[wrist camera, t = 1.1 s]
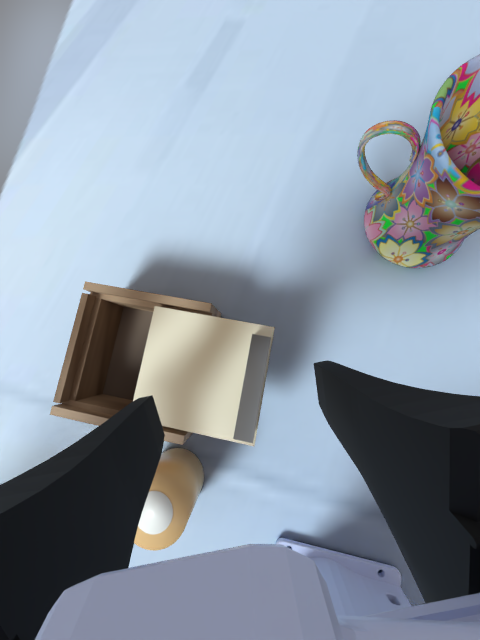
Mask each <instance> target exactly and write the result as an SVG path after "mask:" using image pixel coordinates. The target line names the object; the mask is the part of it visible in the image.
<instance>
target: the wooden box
mask: <svg viewBox="0 0 480 640" xmlns="http://www.w3.org/2000/svg"><path fill="white" fill-rule="evenodd" d="M83 289H84V290H87V291H89V292H91V293H90V294H85V293H82V295H81V299H80V303H79V307H78V311H77V314H76V318H75V322H74V326H73V329H72V333H71V337H70V341H69V345H68V348H67V352H66V356H65V360H64V363H63V367H62V371H61V375H60V379H59V382H58V386H57V390H56V394H55V397H54V401H53V402H56V403H62V404H58V405H54V406H52V409H51V413H50V415H55V416H59V417H63V418H68V419H72V420H76V421H81V422H85V423H89V424H94V425H98V426H100V425H101V424H103V423H104V422H105V421H107V420H108V419H109V418H111V417H112V416H113V415H115V414H116V413H117V412H119V411H120V410H122V409H123V408H124V407H126V406H127V405H128V404H130V403H131V402H133V399H134V394H135V390H136V385H137V381H138V377H139V372H140V368H141V364H142V359H143V355H144V351H145V346H146V342H147V337H148V333H149V329H150V324H151V320H152V316H153V311H154V307H155V306H158V307H163V308H169V309H175V310H180V311H186V312H191V313H197V314H203V315H208V316H214V317H220V318H221V313H220V312H219V311H218V310H217V309H216V308H215V307H214V306H213V305H212V303H206V302H200V301H194V300H189V299H183V298H177V297H171V296H165V295H160V294H154V293H148V292H142V291H136V290H131V289H125V288H119V287H113V286H107V285H102V284H96V283H90V282H85V284H84V288H83ZM162 427H163V431H164V434H165V437H164V441H168V442H172V443H176V444H181V445H183V444H184V443H185V442H186V440H187V439H188V438H189V437H190V436H191V434H192V432H188V431H183V430H179V429H174V428H170V427H166V426H162Z"/></svg>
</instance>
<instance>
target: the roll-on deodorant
mask: <svg viewBox="0 0 480 640" xmlns="http://www.w3.org/2000/svg"><path fill="white" fill-rule="evenodd" d="M203 482H204V471H203V467H202V464H201V462H200V460H199V459H198V458H197V456H196V455H195V454H193V453H192V452H191V451H189V450H187V449H184V448H172V449H169V450H167V451H165V452H163V453H162V454H161V457H160V461H159V464H158V467H157V470H156V473H155V476H154V479H153V482H152V484H151V487H150V490H149V493H148V496H147V499H146V502H145V505H144V508H143V511H142V514H141V517H140V521H139V524H138V528H137V532H136V536H135V540H134V543H135V544H136V545H138V546H139V547H141V548H144V549H147V550H161V549H164V548H167V547H169V546H170V545H172V544H173V543H174V542H176V541H177V540H178V538H179V537H180V536H181V534H182V533H183V531H184V529H185V526H186V524H187V522H188V519H189V517H190V515H191V512H192V510H193V508H194V505H195V503H196V500H197V498H198V496H199V493H200V491H201V489H202V486H203Z"/></svg>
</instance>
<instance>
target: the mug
mask: <svg viewBox="0 0 480 640" xmlns="http://www.w3.org/2000/svg"><path fill="white" fill-rule="evenodd" d="M383 134H397V135H400V136H403V137H404V138H406V139H407V140H408V141H409V142H410V144H411V146H412V153H411V156H410V162H412V163H411V164H410V165H409V167H408V168H407V169H406V170H405V172H404V173H403V174H402V175H401V176H399V177H398V178H396V179H394V180H391V181H389V182H388V183H385V182H384V181H382V180H381V179H380V178H378V177H377V176H376V175H375V174H374V173H373V171H372V170H371V169H370V167H369V165H368V163H367V160H366V157H365V145H366V143H367V142H368V141H369V140H370V139H372V138H374V137H376V136H379V135H383ZM357 157H358V163H359V167H360V169H361V171H362V173H363V175H364V177H365V178H366V179H367V181H368V182H369V183H370V184H371V185H372V186H373V187H375V188H376V189H377V191H376V192H375V193H374V194H373V196H372V197H371V199H370V200H369V202H368V204H367V207H366V210H365V215H364V227H365V232H366V235H367V238H368V240H369V242H370V243H371V245H372V246H373V248H374V249H375V250H376V251H377V252H378V253H379V254H380V255H381V256H382V257H384V258H385V259H387V260H388V261H390V262H392V263H394V264H397V265H400V266H404V267H409V268H424V267H430V266H433V265H436V264H439V263H441V262H443V261H445V260H446V259H448V258H449V257H451V256H452V255H453V254H454V253H455V252H456V251H457V250H458V249H459V247H460V246H461V244H462V243H463V241H464V239H465V238H466V237H467V236H469V235H470V234H471V233H473V232H475V231H476V230H478V229H480V55H478V56H476V57H474V58H472V59H470V60H469V61H467V62H466V63H464V64H463V65H462V66H460V67H459V68H458V69H457V70H456V71H454V72H453V73H452V74H451V75H450V76H449V78H448V79H447V80H446V81H445V82H444V84H443V85H442V87H441V88H440V90H439V91H438V93H437V95H436V97H435V100H434V102H433V105H432V108H431V111H430V116H429V121H428V125H427V129H426V133H425V136H424V139H423V141H422V144H421V146H420V136H419V134H418V132H417V130H416V129H415V128H414V127H412V126H411V125H410V124H408V123H405V122H402V121H385V122H381V123H378V124H376V125H374V126H372V127H371V128H369V129H368V130H367V131H366V132H365V133H364V135H363V136H362V138H361V140H360V143H359V146H358V153H357Z"/></svg>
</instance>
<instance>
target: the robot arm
mask: <svg viewBox="0 0 480 640" xmlns="http://www.w3.org/2000/svg"><path fill="white" fill-rule="evenodd" d="M314 369H315V377H316V384H317V392H318V400H319V405H320V407H321V409H322V412H323V414H324V416H325V418H326V420H327V422H328V424H329V425H330V427H331V429H332V430H333V432H334V433H335V435H336V436H337V438H338V439H339V441H340V442H341V444H342V445H343V447H344V448H345V450H346V452H347V453H348V455H349V456H350V458H351V459H352V461H353V462H354V464H355V465H356V467H357V468H358V470H359V472H360V473H361V475H362V477H363V478H364V480H365V482H366V484H367V485H368V487H369V489H370V491H371V493H372V495H373V497H374V499H375V501H376V502H377V504H378V506H379V508H380V510H381V512H382V514H383V516H384V518H385V520H386V522H387V524H388V526H389V528H390V530H391V532H392V534H393V536H394V538H395V540H396V542H397V544H398V546H399V548H400V550H401V552H402V554H403V556H404V558H405V560H406V563H407V565H408V567H409V569H410V571H411V573H412V575H413V577H414V579H415V581H416V583H417V585H418V588H419V590H420V592H421V594H422V596H423V598H424V600H425V603H426V604H421V605H416V606H412V605H411V604H410V602H409V600H408V599H407V597H406V596H405V594H404V592H403V591H402V589H401V574H400V572H399V570H398V569H397V568H396V567H394V566H391V565H387V564H383V563H379V562H375V561H371V560H367V559H364V558H360V557H356V556H352V555H348V554H344V553H340V552H336V551H332V550H328V549H325V548H321V547H317V546H313V545H309V544H305V543H301V542H297V541H293V540H290V539H286V538H279V539H278V540H277V542H276V544H248V545H243V546H238V547H233V548H228V549H223V550H218V551H213V552H208V553H203V554H197V555H192V556H187V557H182V558H177V559H172V560H167V561H162V562H157V563H152V564H147V565H142V566H137V567H132V568H128V566H129V562H130V557H131V553H132V549H133V544H134V540H135V536H136V532H137V528H138V524H139V521H140V517H141V514H142V511H143V508H144V505H145V502H146V499H147V496H148V493H149V490H150V487H151V484H152V482H153V479H154V476H155V473H156V470H157V467H158V464H159V461H160V457H161V453H162V448H163V442H164V437H165V434H164V431H163V427H162V424H161V421H160V418H159V414H158V411H157V408H156V405H155V402H154V398H153V395H151V396H146V397H141V398H138V399H136V400H134V401H133V402H131V403H130V404H128V405H127V406H126V407H124V408H123V409H122V410H120V411H119V412H117V413H116V414H115V415H113V416H112V417H111V418H109V419H108V420H107V421H105V422H104V423H103V424H101V425H100V426H99V427H97V428H96V429H94V430H93V431H91V432H90V433H89V434H87V435H86V436H84V437H83V438H81V439H80V440H79V441H77V442H76V443H74V444H73V445H71V446H69V447H68V448H66V449H65V450H63V451H62V452H60V453H58V454H57V455H55V456H53V457H52V458H50V459H48V460H47V461H45V462H43V463H41V464H39V465H38V466H36V467H34V468H32V469H30V470H28V471H26V472H24V473H23V474H21V475H19V476H17V477H15V478H13V479H11V480H9V481H7V482H5V483H3V484H1V485H0V640H480V397H479V396H468V395H459V394H451V393H444V392H438V391H431V390H425V389H420V388H415V387H411V386H406V385H402V384H398V383H394V382H390V381H387V380H383V379H380V378H377V377H374V376H371V375H368V374H365V373H362V372H359V371H356V370H354V369H351V368H348V367H346V366H343V365H340V364H337V363H335V362H331V361H322V362H317V363H314ZM287 546H291V549H290V548H288V547H287ZM379 570H382V572H381V573H378V571H379Z"/></svg>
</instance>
